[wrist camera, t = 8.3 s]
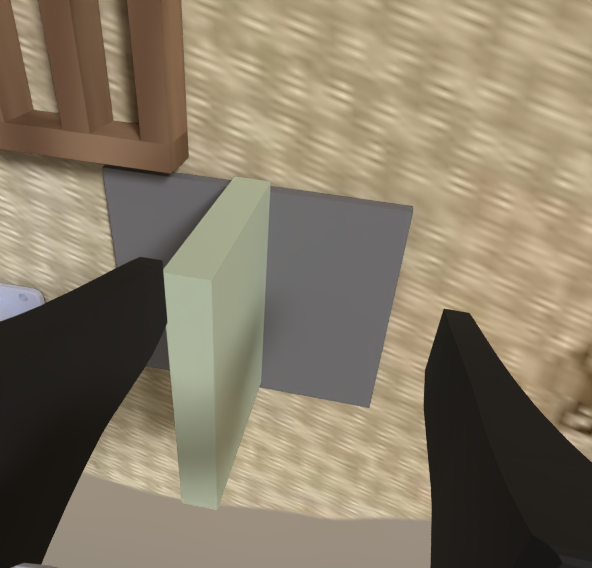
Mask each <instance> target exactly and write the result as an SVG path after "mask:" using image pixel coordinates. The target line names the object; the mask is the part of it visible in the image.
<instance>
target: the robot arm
mask: <svg viewBox="0 0 592 568" xmlns="http://www.w3.org/2000/svg"><path fill="white" fill-rule="evenodd" d="M167 323H168V321H167V309H166V297H165V285H164V273H163V261H162V260H157V259H151V258H145V257H138V258H136V259H134V260H132V261H129V262H127V263H125V264H123V265H121V266H119V267H118V268H116V269H114V270H112V271H110V272H108V273H106V274H104V275H102V276H100V277H98V278H96V279H94V280H92V281H90V282H89V283H87V284H85V285H83V286H81V287H79V288H77V289H75V290H73V291H71V292H69V293H66V294H64V295H62V296H60V297H58V298H56V299H53V300H51V301H49V302H47V303H45V302H44V298H43V295H42V294H41V292H40V291H38V290H36V289H33V288H28V287H22V286H17V285H11V284H5V283H0V568H57V567H53V566H48V565H41V564H42V561H43V558H44V556H45V554H46V551H47V549H48V547H49V544H50V542H51V540H52V537H53V535H54V533H55V531H56V528H57V526H58V524H59V522H60V519H61V517H62V515H63V513H64V510H65V508H66V506H67V503H68V501H69V499H70V497H71V495H72V493H73V491H74V489H75V487H76V484H77V482H78V480H79V478H80V476H81V474H82V472H83V470H84V468H85V466H86V464H87V462H88V460H89V458H90V456H91V454H92V452H93V450H94V448H95V446H96V444H97V442H98V440H99V438H100V437H101V435H102V433H103V431H104V430H105V428H106V426H107V425H108V423H109V421H110V420H111V418H112V416H113V415H114V413H115V412H116V410H117V409H118V407H119V406H120V404H121V403H122V401H123V400H124V398H125V397H126V395H127V394H128V392H129V391H130V389H131V388H132V386H133V384H134V383H135V381H136V380H137V378H138V377H139V375H140V374H141V372H142V371H143V369H144V368H145V366H146V364H147V363H148V361H149V360H150V358H151V357H152V355H153V353H154V351H155V349H156V347H157V345H158V343H159V341H160V339H161V336H162V334H163V332H164V330H165V327H166V325H167ZM424 417H425V428H426V439H427V450H428V461H429V472H430V483H431V500H432V527H431V568H592V462H591V461H590V460H589V459H587V458H586V457H585V456H584V455H583V454H582V453H581V452H580V451H579V450H578V449H576V448H575V447H574V446H573V445H572V444H571V443H570V442H569V441H568V440H567V439H566V438H565V437H564V436H563V435H562V434H561V433H560V432H559V431H558V430H557V429H556V427H555V426H554V425H553V424H552V423H551V422H550V421H549V420H548V419H547V418H546V417H545V416H544V415H543V414H542V413H541V411H540V410H539V409H538V408H537V407H536V406H535V405H534V403H533V402H532V401H531V400H530V398H529V397H528V396H527V395H526V394H525V392H524V391H523V390H522V389H521V387H520V386H519V385H518V384H517V382H516V381H515V380H514V378H513V377H512V376H511V374H510V373H509V372H508V370H507V369H506V367H505V366H504V365H503V363H502V362H501V360H500V359H499V357H498V356H497V354H496V353H495V352H494V350H493V348H492V347H491V345H490V344H489V342H488V341H487V339H486V338H485V336H484V335H483V333H482V332H481V330H480V328H479V327H478V325H477V324H476V322H475V321H474V319H473V318H472V316H471V315H470V313H466V312H460V311H455V310H449V309H444V310H443V313H442V316H441V320H440V323H439V326H438V330H437V333H436V336H435V340H434V343H433V346H432V349H431V353H430V356H429V359H428V363H427V366H426V369H425V384H424Z"/></svg>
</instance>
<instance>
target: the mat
mask: <svg viewBox="0 0 592 568" xmlns="http://www.w3.org/2000/svg"><path fill="white" fill-rule="evenodd" d="M102 169H103V176H104V183H105V189H106V196H107V203H108V210H109V216H110V223H111V230H112V237H113V244H114V250H115V257H116V264H117V268H118V267H119V266H121V265H123V264H125V263H127V262H129V261H132V260H134V259H136V258H138V257H145V258H151V259H157V260H162V261H163V269H164V268H165V267H166V265H167V264H168V263H169V261H170V260H171V259H172V257H173V256H174V255H175V254H176V252H177V251H178V250H179V248H180V247H181V246H182V244H183V243H184V242H185V241H186V239H187V238H188V237H189V235H190V234H191V233H192V231H193V230H194V229H195V228H196V226H197V225H198V224H199V222H200V221H201V220H202V218H203V217H204V216H205V215H206V213H207V212H208V211H209V209H210V208H211V207H212V205H213V204H214V203H215V202H216V200H217V199H218V198H219V196H220V195H221V194H222V192H223V191H224V190H225V188H226V187H227V186H228V185H229V183H230V182H231V181H232V180H225V179H218V178H211V177H204V176H197V175H190V174H183V173H176V172H172V173H164V172H157V171H150V170H143V169H136V168H129V167H122V166H115V165H108V164H106V165H105V166H103V167H102ZM412 214H413V206H407V205H400V204H393V203H386V202H379V201H372V200H365V199H358V198H351V197H344V196H337V195H330V194H323V193H316V192H309V191H302V190H295V189H288V188H281V187H274V186H270V206H269V227H268V248H267V269H266V290H265V311H264V332H263V352H262V373H261V383H260V386H259V387H261V388H266V389H272V390H277V391H282V392H288V393H293V394H298V395H304V396H309V397H314V398H319V399H325V400H330V401H335V402H341V403H346V404H351V405H357V406H362V407H367V408H369V407H370V403H371V398H372V394H373V389H374V385H375V380H376V376H377V371H378V367H379V362H380V358H381V353H382V349H383V344H384V340H385V335H386V331H387V326H388V322H389V317H390V313H391V309H392V304H393V300H394V295H395V291H396V286H397V282H398V277H399V273H400V268H401V264H402V259H403V255H404V250H405V246H406V241H407V237H408V232H409V228H410V223H411V219H412ZM146 366H150V367H155V368H160V369H166V370H170V364H169V353H168V342H167V331H166V327H165V330H164V332H163V334H162V336H161V339H160V341H159V343H158V345H157V347H156V349H155V351H154V353H153V355H152V357H151V358H150V360H149V361H148V363H147V364H146Z"/></svg>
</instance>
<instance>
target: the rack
mask: <svg viewBox="0 0 592 568" xmlns="http://www.w3.org/2000/svg"><path fill="white" fill-rule="evenodd" d="M38 2H39V7H40V12H41V18H42V23H43V28H44V34H45V39H46V45H47V50H48V55H49V61H50V66H51V72H52V77H53V82H54V88H55V93H56V99H57V104H58V109H59V113H52V112H44V111H37V110H33V105H32V101H31V96H30V91H29V87H28V82H27V77H26V73H25V68H24V63H23V58H22V54H21V49H20V44H19V40H18V35H17V30H16V26H15V21H14V16H13V11H12V7H11V2H10V0H0V149H4V150H11V151H18V152H25V153H32V154H39V155H46V156H53V157H60V158H67V159H74V160H81V161H88V162H95V163H102V164H108V165H115V166H122V167H129V168H136V169H143V170H150V171H157V172H164V173H172V172H173V171H175V170H176V169H177V168H178V167H179V166H180V165H181V164H182V163H183V162H184V161H185V160H186V159H187V158H188V136H187V115H186V94H185V73H184V52H183V31H182V10H181V0H127V7H128V17H129V27H130V37H131V47H132V57H133V67H134V77H135V87H136V97H137V107H138V117H139V124H134V123H127V122H119V121H113V115H112V107H111V99H110V91H109V83H108V76H107V68H106V60H105V52H104V44H103V37H102V29H101V21H100V13H99V5H98V0H38Z"/></svg>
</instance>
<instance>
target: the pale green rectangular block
mask: <svg viewBox="0 0 592 568" xmlns="http://www.w3.org/2000/svg"><path fill="white" fill-rule="evenodd" d="M270 185H271V181H264V180H257V179H250V178H242V177H234V178H233V179H232V181H231V182H230V183H229V185H228V186H227V187H226V188H225V190H224V191H223V192H222V194H221V195H220V196H219V198H218V199H217V200H216V202H215V203H214V204H213V205H212V207H211V208H210V209H209V211H208V212H207V213H206V215H205V216H204V217H203V218H202V220H201V221H200V222H199V224H198V225H197V226H196V228H195V229H194V230H193V231H192V233H191V234H190V235H189V237H188V238H187V239H186V241H185V242H184V243H183V244H182V246H181V247H180V248H179V250H178V251H177V252H176V254H175V255H174V256H173V257H172V259H171V260H170V261H169V263H168V264H167V265H166V267H165V268H164V269H163V273H164V285H165V297H166V309H167V321H168V323H167V325H166V331H167V342H168V353H169V364H170V376H171V387H172V398H173V409H174V420H175V431H176V442H177V453H178V464H179V475H180V486H181V497H182V503H186V504H191V505H195V506H200V507H205V508H209V509H214V510H217V509H218V506H219V504H220V501H221V498H222V495H223V492H224V489H225V486H226V483H227V480H228V477H229V474H230V471H231V468H232V466H233V463H234V460H235V457H236V454H237V451H238V448H239V445H240V442H241V439H242V436H243V433H244V430H245V427H246V424H247V421H248V419H249V416H250V413H251V410H252V407H253V404H254V401H255V398H256V395H257V392H258V389H259V386H260V383H261V373H262V352H263V332H264V311H265V290H266V269H267V248H268V227H269V206H270Z"/></svg>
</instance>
